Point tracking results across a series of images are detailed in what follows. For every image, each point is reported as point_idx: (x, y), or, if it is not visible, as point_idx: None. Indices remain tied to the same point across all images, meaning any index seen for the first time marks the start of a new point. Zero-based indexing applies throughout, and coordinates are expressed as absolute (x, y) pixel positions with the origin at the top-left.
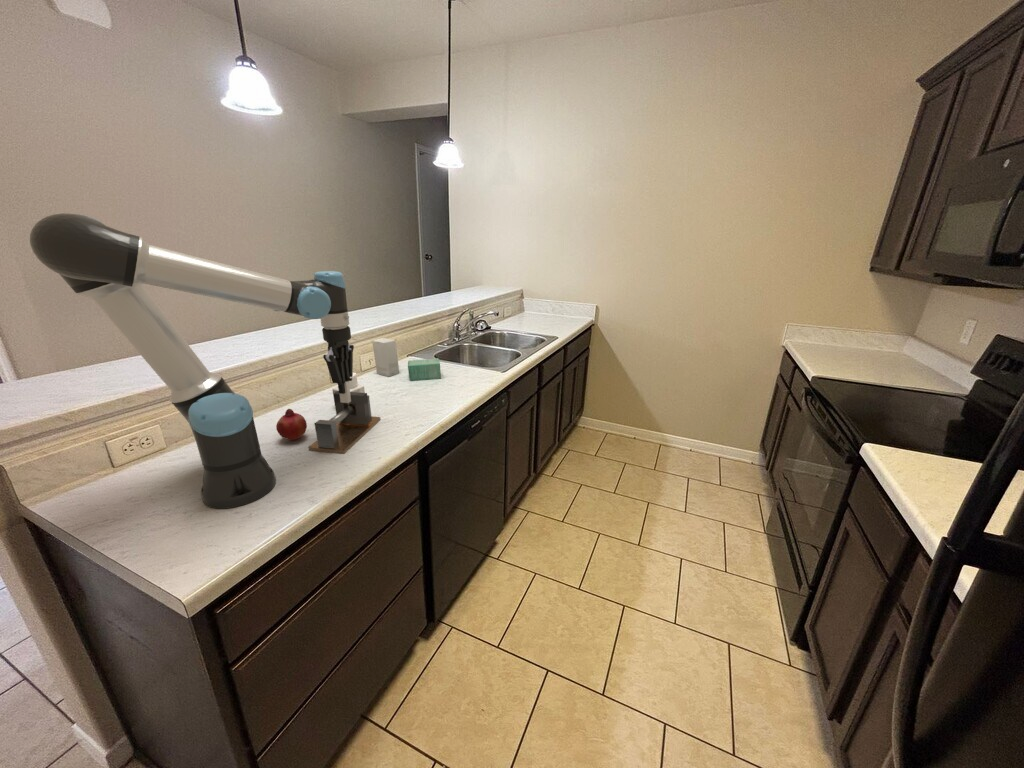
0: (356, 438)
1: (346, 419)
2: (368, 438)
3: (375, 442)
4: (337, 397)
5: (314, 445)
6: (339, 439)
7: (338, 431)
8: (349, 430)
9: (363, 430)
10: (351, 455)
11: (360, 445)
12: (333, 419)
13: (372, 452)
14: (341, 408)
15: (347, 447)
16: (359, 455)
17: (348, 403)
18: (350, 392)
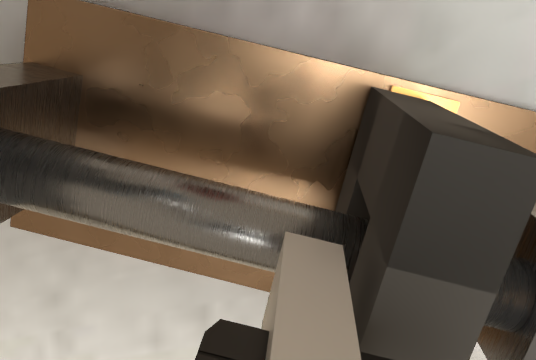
0: (158, 261)
1: (352, 172)
2: (203, 306)
3: (155, 349)
4: (403, 175)
5: (55, 21)
6: (143, 162)
7: (262, 120)
8: (273, 191)
9: (268, 279)
10: (9, 259)
11: (119, 281)
12: (35, 201)
13: (48, 352)
14: (370, 169)
15: (50, 235)
16: (13, 298)
17: (353, 273)
18: (445, 356)
